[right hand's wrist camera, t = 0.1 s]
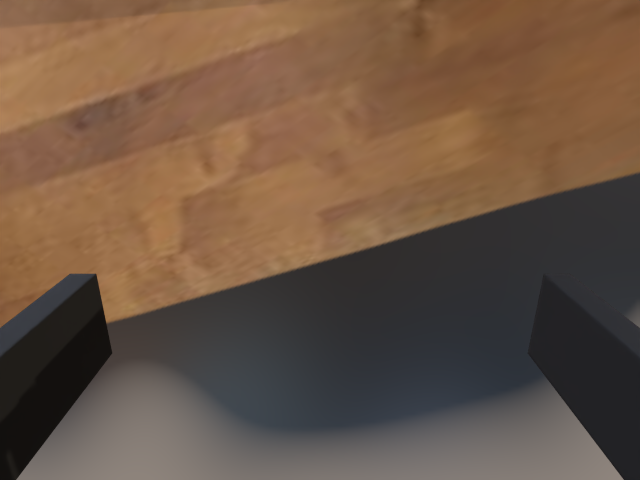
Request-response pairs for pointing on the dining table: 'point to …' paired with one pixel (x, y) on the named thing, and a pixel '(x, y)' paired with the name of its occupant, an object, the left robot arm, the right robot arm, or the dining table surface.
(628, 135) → the dining table surface
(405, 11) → the dining table surface
